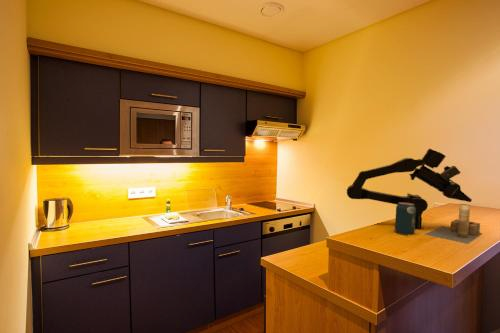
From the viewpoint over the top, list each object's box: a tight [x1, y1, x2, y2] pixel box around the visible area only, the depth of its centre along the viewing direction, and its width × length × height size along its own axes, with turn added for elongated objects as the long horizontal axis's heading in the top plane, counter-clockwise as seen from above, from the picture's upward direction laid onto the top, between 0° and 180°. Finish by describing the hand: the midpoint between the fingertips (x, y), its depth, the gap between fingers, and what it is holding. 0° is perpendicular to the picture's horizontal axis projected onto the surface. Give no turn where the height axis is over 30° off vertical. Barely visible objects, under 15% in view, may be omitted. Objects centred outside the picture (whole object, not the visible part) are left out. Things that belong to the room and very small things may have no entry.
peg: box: [458, 203, 471, 238], centre depth 110 cm, size 3×3×12 cm
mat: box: [424, 225, 483, 245], centre depth 114 cm, size 22×14×1 cm, turn 130°
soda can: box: [394, 202, 416, 236], centre depth 114 cm, size 7×7×12 cm
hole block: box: [450, 218, 481, 236], centre depth 117 cm, size 8×8×4 cm
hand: (468, 198), depth 114 cm, fingers open, 9 cm apart
